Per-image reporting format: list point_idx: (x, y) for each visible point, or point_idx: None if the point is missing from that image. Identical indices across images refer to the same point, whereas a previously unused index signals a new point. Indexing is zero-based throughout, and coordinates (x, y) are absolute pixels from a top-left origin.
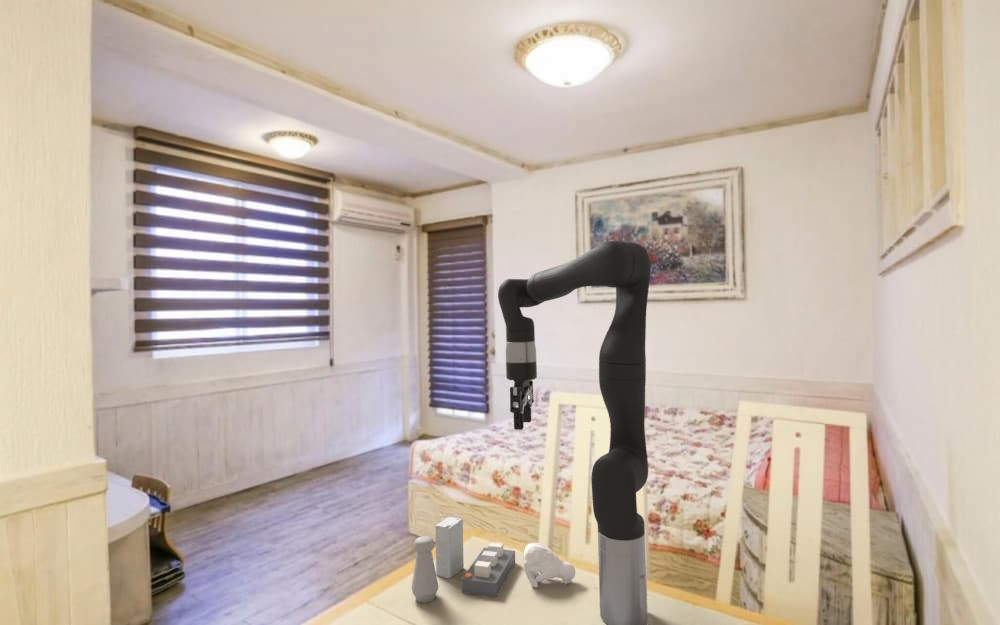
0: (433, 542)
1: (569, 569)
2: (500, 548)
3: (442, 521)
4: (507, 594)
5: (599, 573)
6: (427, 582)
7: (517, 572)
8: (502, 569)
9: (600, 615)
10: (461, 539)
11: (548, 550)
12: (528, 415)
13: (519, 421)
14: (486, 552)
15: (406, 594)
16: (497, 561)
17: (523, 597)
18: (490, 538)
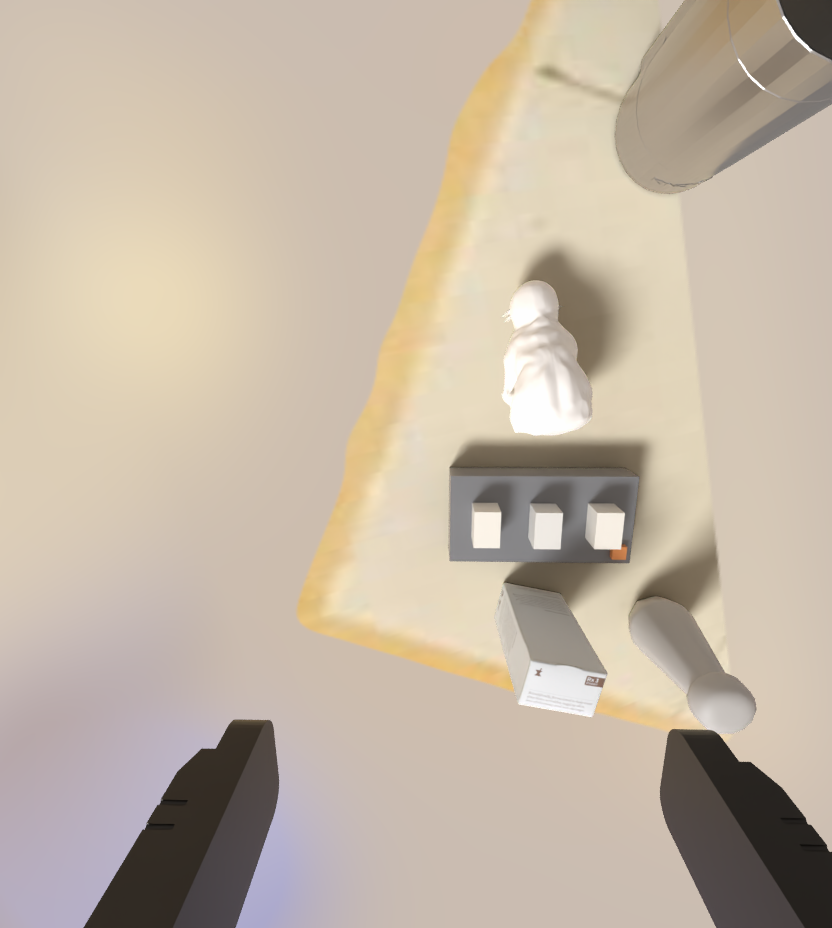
0: (720, 683)
1: (552, 293)
2: (500, 511)
3: (559, 709)
4: (608, 446)
5: (766, 142)
6: (698, 628)
7: (497, 449)
8: (565, 480)
9: (684, 190)
10: (527, 624)
11: (559, 357)
12: (240, 817)
13: (825, 859)
14: (543, 540)
15: (640, 655)
16: (531, 504)
17: (616, 405)
18: (325, 567)
